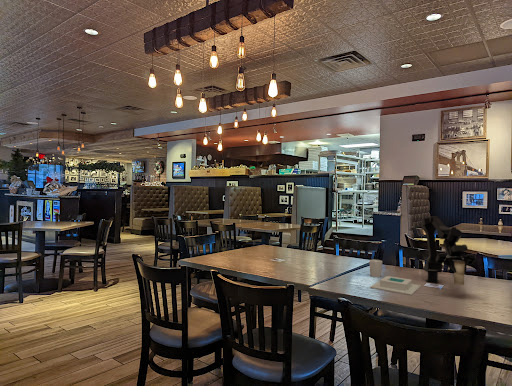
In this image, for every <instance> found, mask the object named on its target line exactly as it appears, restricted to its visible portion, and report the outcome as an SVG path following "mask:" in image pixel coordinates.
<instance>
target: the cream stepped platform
mask: <svg viewBox="0 0 512 386" xmlns="http://www.w3.org/2000/svg"><path fill="white" fill-rule="evenodd" d="M412 282H413V279H409V278H402V277H396V276H390V275H386V276H385V277H383V278H381V279H379V281H377V282H376V283H374V284H372V285H371V286H369V289H375V290H379V291H385V292H390V293H397V294H402V295H407V296H412V295H414V294H415V293H416V292H417V291H418V290H419V289H420V288H421V287H422V285H420V284H414V283H412Z"/></svg>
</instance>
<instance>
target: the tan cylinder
mask: <svg viewBox="0 0 512 386" xmlns="http://www.w3.org/2000/svg"><path fill="white" fill-rule="evenodd" d="M453 264H454V266H455V269H456V273H455V272H454V271H453V284H454V285H456V286H465V273H464V267H465V262H464V261H453Z"/></svg>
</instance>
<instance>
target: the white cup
mask: <svg viewBox="0 0 512 386" xmlns="http://www.w3.org/2000/svg"><path fill="white" fill-rule="evenodd" d="M382 270H383V260H380V259H369V277H372V278H380V277H381V276H382Z"/></svg>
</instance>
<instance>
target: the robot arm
mask: <svg viewBox="0 0 512 386" xmlns="http://www.w3.org/2000/svg"><path fill="white" fill-rule="evenodd" d="M421 227H422V230H423V231H424V233H425V234H426V235H425V236H426V244H427V251H428V257H427V258H426V263H425V265H424V267H423V270H424V272H427V278H426V280H425V282H429V283H433V284H434V283H435V284H438V283H439V282H440V280H439V273H442V272H443V266H444V265H445V266H446V267H448V268H449V269H450V270H451V271H452V272H453V273H454V272H455V273H456V269H455V266H454V261H464V262H465V267H464V274H466V273H467V266H468V265H473V264H474V263H475V261H476V260H477V257H476V255H475V254H469V253H468V254H467V253H466V254H465V256H463V253H464V252H467V251H468V246H467V244H456V243H458V242H459V240H460V239H461V237H462V235H463V232H462V231H461V230H460V229H459V228H457V227H456V226H452V227H448V226H446V225H445V223H443V222H442V220H441V219H440V217H439V216H434V215H433V216H428V217H427V218H424V219H423V220H421ZM436 231H437V236H438V237H439V239H440V240H443V241H442V246H443V247H444V249H445V250H446V251H445V252H444V253H441V252H440V253H438V251H437V243H436V242H437V241H436V236H435V235H436V234H435V232H436Z"/></svg>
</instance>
